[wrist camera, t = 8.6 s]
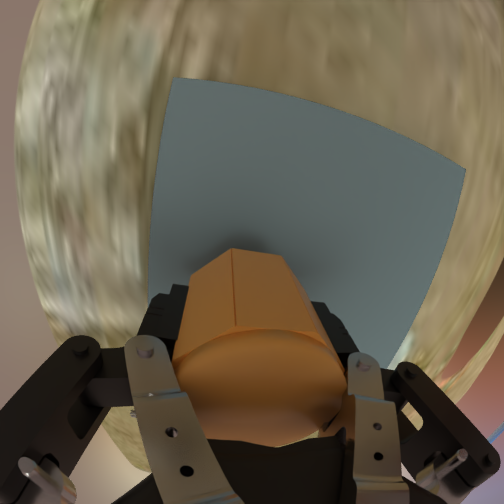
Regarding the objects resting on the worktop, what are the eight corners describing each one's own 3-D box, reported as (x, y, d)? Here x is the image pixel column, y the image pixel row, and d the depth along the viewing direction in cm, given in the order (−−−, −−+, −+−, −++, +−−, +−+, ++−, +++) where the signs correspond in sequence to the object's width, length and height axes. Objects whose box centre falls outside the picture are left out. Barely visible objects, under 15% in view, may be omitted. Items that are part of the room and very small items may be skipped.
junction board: (453, 166, 16) (466, 169, 14) (380, 357, 22) (386, 368, 21) (178, 83, 13) (173, 77, 11) (153, 344, 19) (149, 357, 18)
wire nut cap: (314, 260, 12) (376, 350, 6) (285, 349, 14) (311, 446, 8) (194, 242, 11) (167, 337, 5) (185, 339, 13) (170, 443, 7)
